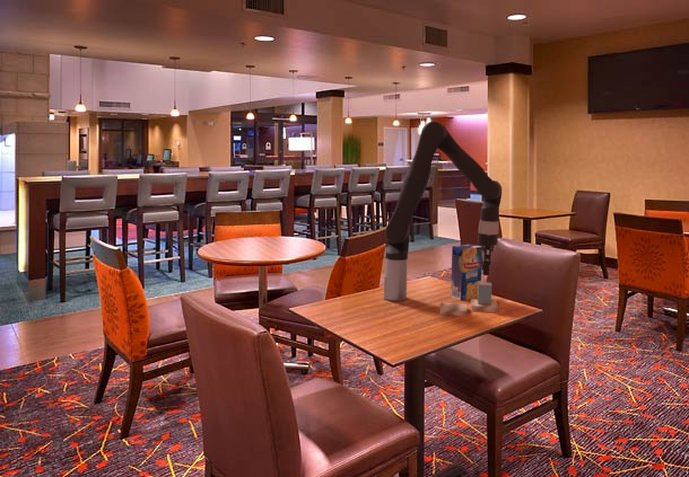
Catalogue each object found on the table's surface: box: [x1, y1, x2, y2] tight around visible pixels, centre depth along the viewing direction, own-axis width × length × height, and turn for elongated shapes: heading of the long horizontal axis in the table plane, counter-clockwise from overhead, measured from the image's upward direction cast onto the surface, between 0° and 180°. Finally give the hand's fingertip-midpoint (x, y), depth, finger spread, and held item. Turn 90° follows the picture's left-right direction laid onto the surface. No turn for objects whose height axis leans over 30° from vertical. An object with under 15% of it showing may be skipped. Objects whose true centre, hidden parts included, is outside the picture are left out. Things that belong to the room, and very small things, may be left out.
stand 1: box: [439, 301, 468, 317], centre depth 214 cm, size 10×10×2 cm
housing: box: [476, 281, 493, 305], centre depth 218 cm, size 5×5×8 cm
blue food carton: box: [449, 243, 483, 301], centre depth 233 cm, size 7×11×22 cm, turn 121°
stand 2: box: [470, 298, 499, 313], centre depth 219 cm, size 10×10×2 cm
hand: (485, 272), depth 217 cm, fingers open, 8 cm apart
